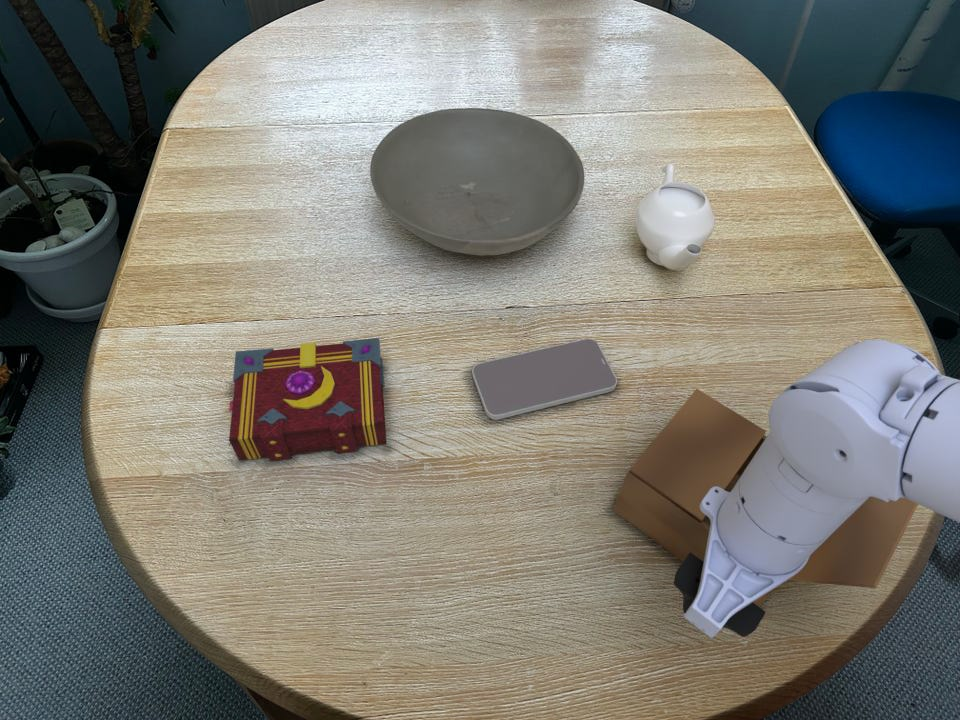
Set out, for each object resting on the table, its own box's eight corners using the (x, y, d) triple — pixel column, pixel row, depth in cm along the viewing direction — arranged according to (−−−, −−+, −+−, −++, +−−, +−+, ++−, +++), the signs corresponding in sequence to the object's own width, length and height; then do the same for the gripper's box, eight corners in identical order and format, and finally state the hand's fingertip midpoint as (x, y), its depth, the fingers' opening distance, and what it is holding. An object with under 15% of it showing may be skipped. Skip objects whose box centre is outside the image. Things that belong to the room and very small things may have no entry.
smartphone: (469, 364, 75) (594, 336, 78) (469, 369, 76) (593, 341, 78) (489, 418, 70) (620, 385, 73) (488, 423, 71) (619, 390, 74)
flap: (844, 479, 59) (846, 481, 59) (785, 577, 53) (787, 580, 53) (930, 473, 52) (932, 476, 52) (873, 585, 47) (876, 588, 47)
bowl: (362, 286, 83) (354, 235, 77) (388, 153, 101) (383, 102, 94) (583, 294, 83) (593, 243, 77) (570, 159, 101) (578, 109, 94)
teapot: (688, 206, 94) (706, 149, 87) (714, 311, 82) (738, 255, 75) (619, 204, 94) (633, 146, 87) (635, 308, 82) (652, 251, 75)
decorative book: (388, 448, 69) (384, 421, 65) (227, 467, 67) (212, 440, 63) (382, 362, 76) (378, 333, 72) (236, 377, 74) (223, 348, 70)
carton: (808, 519, 65) (845, 479, 59) (751, 612, 59) (786, 578, 53) (675, 433, 71) (696, 387, 65) (612, 509, 65) (628, 468, 59)
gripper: (779, 389, 45) (718, 486, 55) (665, 544, 38) (620, 621, 48) (885, 450, 42) (799, 540, 53) (782, 630, 35) (707, 692, 46)
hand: (719, 583), depth 50 cm, fingers open, 6 cm apart
